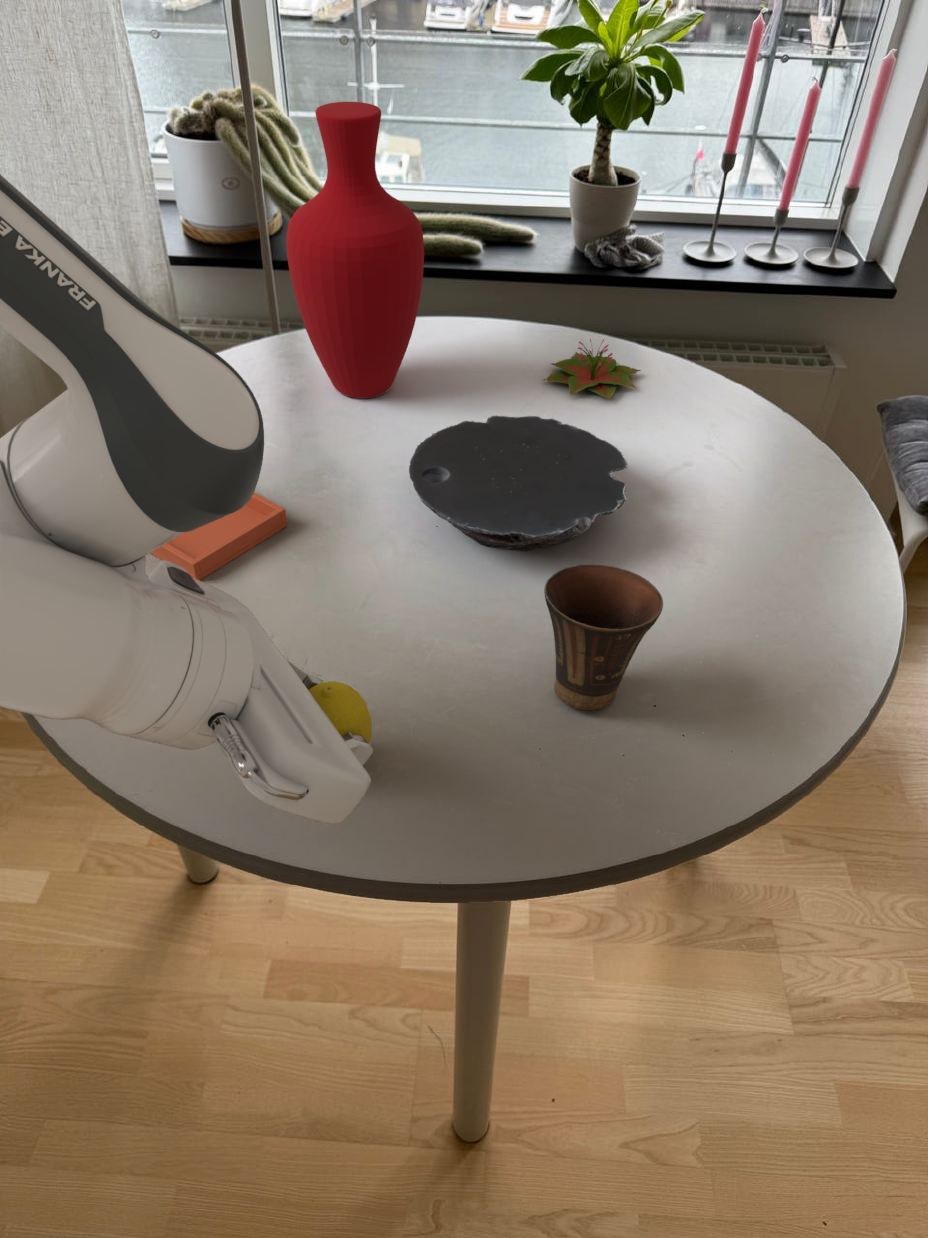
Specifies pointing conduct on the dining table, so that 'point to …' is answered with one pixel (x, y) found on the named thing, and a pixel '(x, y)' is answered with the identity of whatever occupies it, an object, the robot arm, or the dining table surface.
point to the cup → (597, 629)
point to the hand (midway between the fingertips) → (339, 720)
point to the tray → (224, 537)
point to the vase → (356, 259)
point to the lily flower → (592, 373)
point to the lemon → (343, 708)
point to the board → (518, 480)
